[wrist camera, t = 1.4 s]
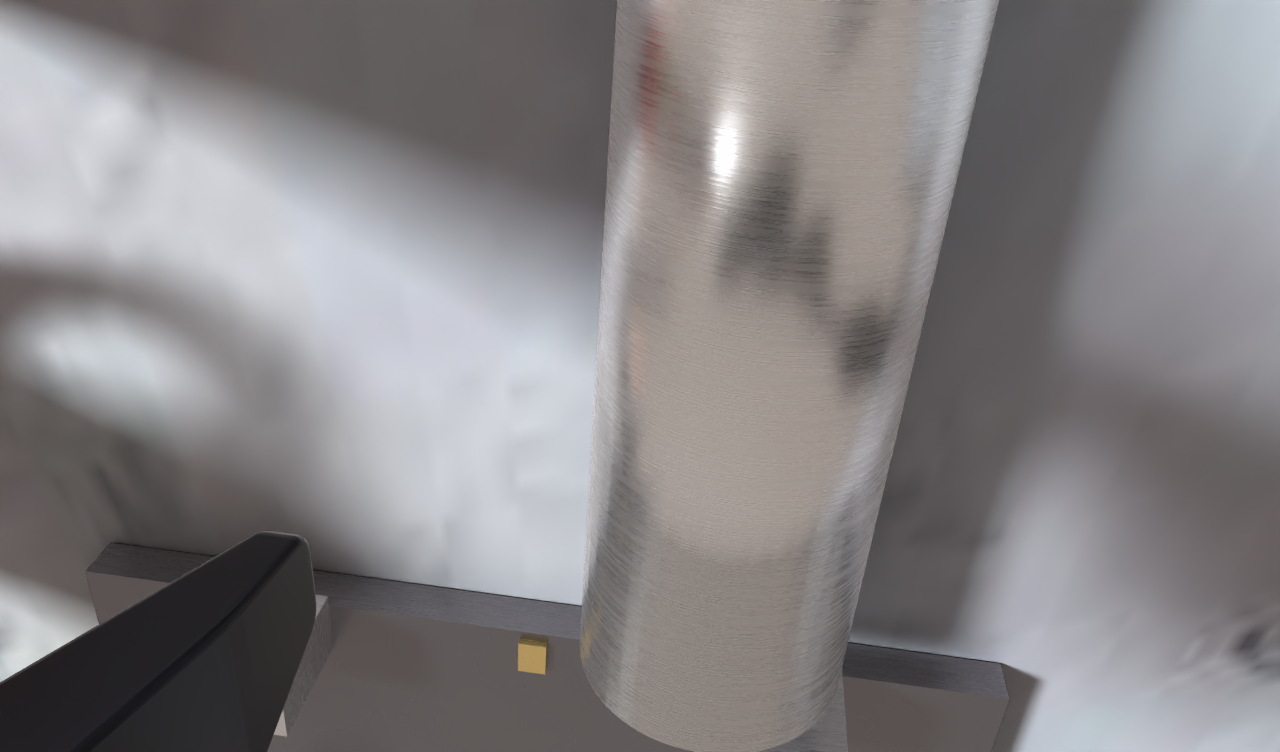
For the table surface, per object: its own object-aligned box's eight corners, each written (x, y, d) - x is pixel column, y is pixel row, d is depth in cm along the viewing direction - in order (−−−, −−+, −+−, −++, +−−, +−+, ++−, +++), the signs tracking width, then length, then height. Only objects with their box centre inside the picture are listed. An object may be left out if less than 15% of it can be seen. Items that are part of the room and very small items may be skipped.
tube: (689, -351, 14) (584, -414, 10) (1060, -329, 14) (1111, -386, 9) (619, 541, 22) (543, 713, 18) (849, 593, 22) (826, 786, 17)
